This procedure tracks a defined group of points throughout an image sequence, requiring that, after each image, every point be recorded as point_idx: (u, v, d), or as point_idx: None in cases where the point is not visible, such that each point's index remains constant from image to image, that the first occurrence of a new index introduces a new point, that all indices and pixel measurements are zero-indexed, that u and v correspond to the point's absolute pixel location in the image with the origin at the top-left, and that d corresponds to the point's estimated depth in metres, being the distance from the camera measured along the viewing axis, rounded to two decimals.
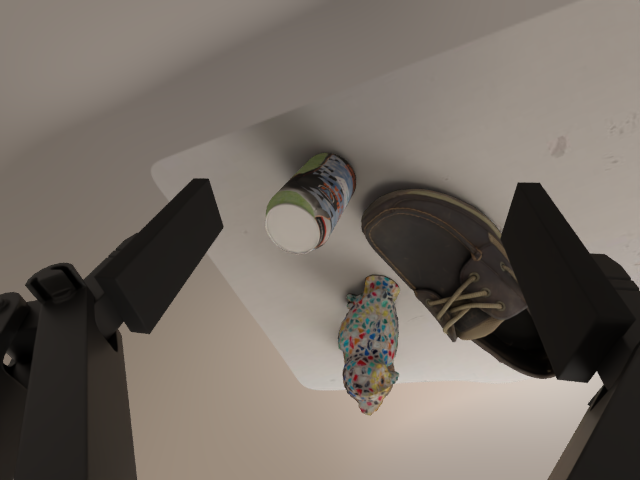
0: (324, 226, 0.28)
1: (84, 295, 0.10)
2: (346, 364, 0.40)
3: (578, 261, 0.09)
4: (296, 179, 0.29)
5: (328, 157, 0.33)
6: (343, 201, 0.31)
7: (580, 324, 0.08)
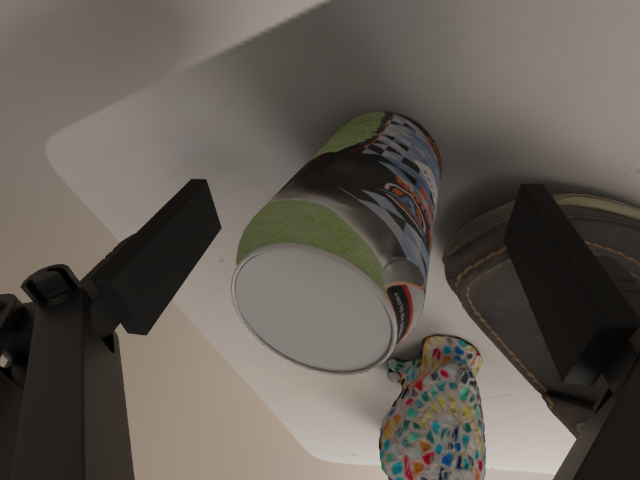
0: (409, 311, 0.09)
1: (80, 296, 0.10)
2: None
3: (583, 263, 0.09)
4: (320, 167, 0.11)
5: (388, 119, 0.15)
6: (434, 223, 0.13)
7: (585, 327, 0.08)
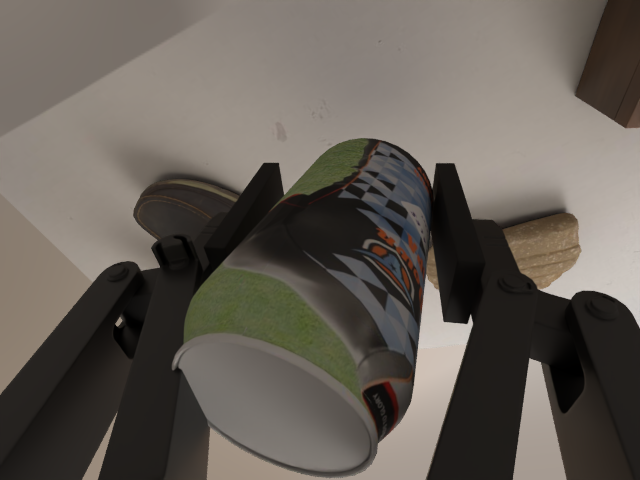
0: (394, 410, 0.07)
1: (195, 267, 0.10)
2: None
3: (459, 222, 0.11)
4: (287, 217, 0.09)
5: (372, 149, 0.13)
6: (425, 275, 0.11)
7: (451, 271, 0.10)
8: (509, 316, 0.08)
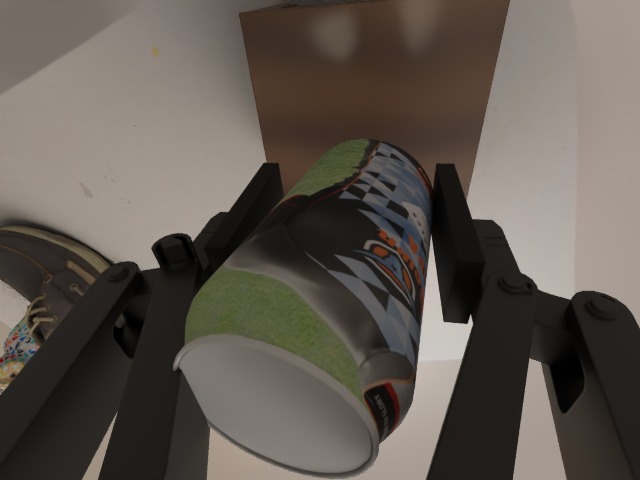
0: (395, 411, 0.07)
1: (195, 267, 0.10)
2: None
3: (459, 222, 0.11)
4: (288, 218, 0.09)
5: (373, 149, 0.13)
6: (426, 276, 0.11)
7: (451, 271, 0.10)
8: (509, 316, 0.08)
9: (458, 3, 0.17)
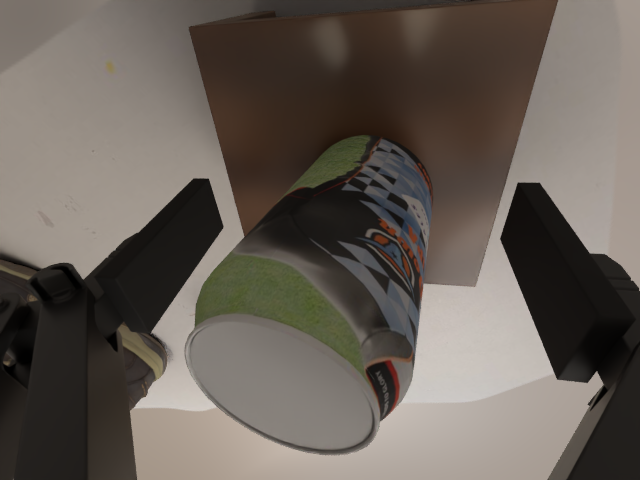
0: (395, 388, 0.07)
1: (84, 295, 0.10)
2: None
3: (578, 261, 0.09)
4: (293, 208, 0.09)
5: (374, 145, 0.13)
6: (425, 265, 0.11)
7: (580, 324, 0.08)
8: None
9: (482, 15, 0.12)
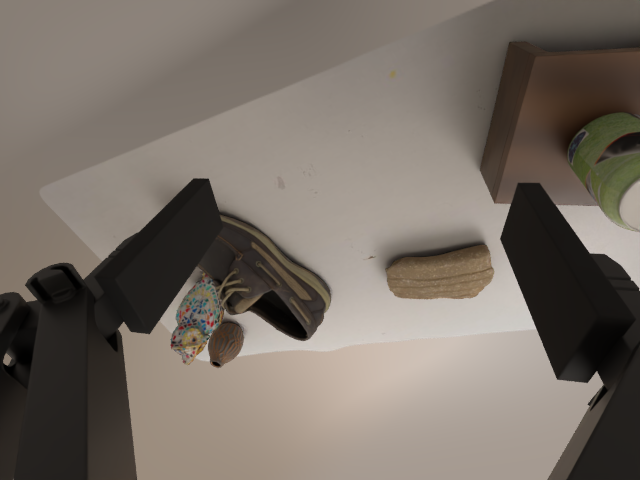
0: None
1: (84, 295, 0.10)
2: (175, 329, 0.57)
3: (578, 261, 0.09)
4: None
5: (636, 116, 0.27)
6: None
7: (580, 324, 0.08)
8: None
9: None
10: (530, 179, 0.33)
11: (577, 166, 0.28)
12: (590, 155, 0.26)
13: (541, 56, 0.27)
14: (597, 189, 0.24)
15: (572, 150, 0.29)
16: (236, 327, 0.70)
